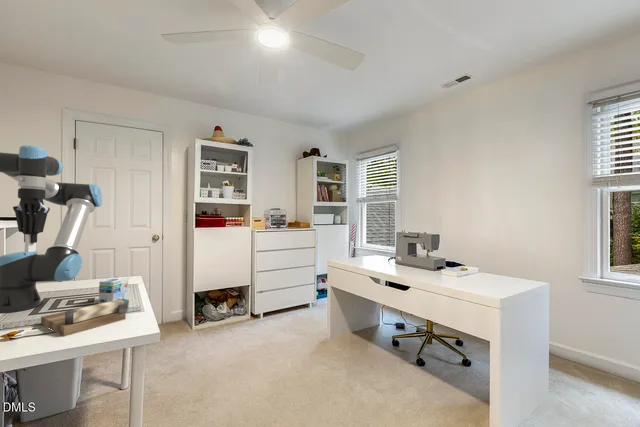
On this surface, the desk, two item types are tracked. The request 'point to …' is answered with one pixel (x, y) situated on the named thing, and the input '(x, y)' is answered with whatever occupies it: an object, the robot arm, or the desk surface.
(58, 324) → the walnut seat
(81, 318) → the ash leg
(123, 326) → the desk surface
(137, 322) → the desk surface
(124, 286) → the light bulb box
